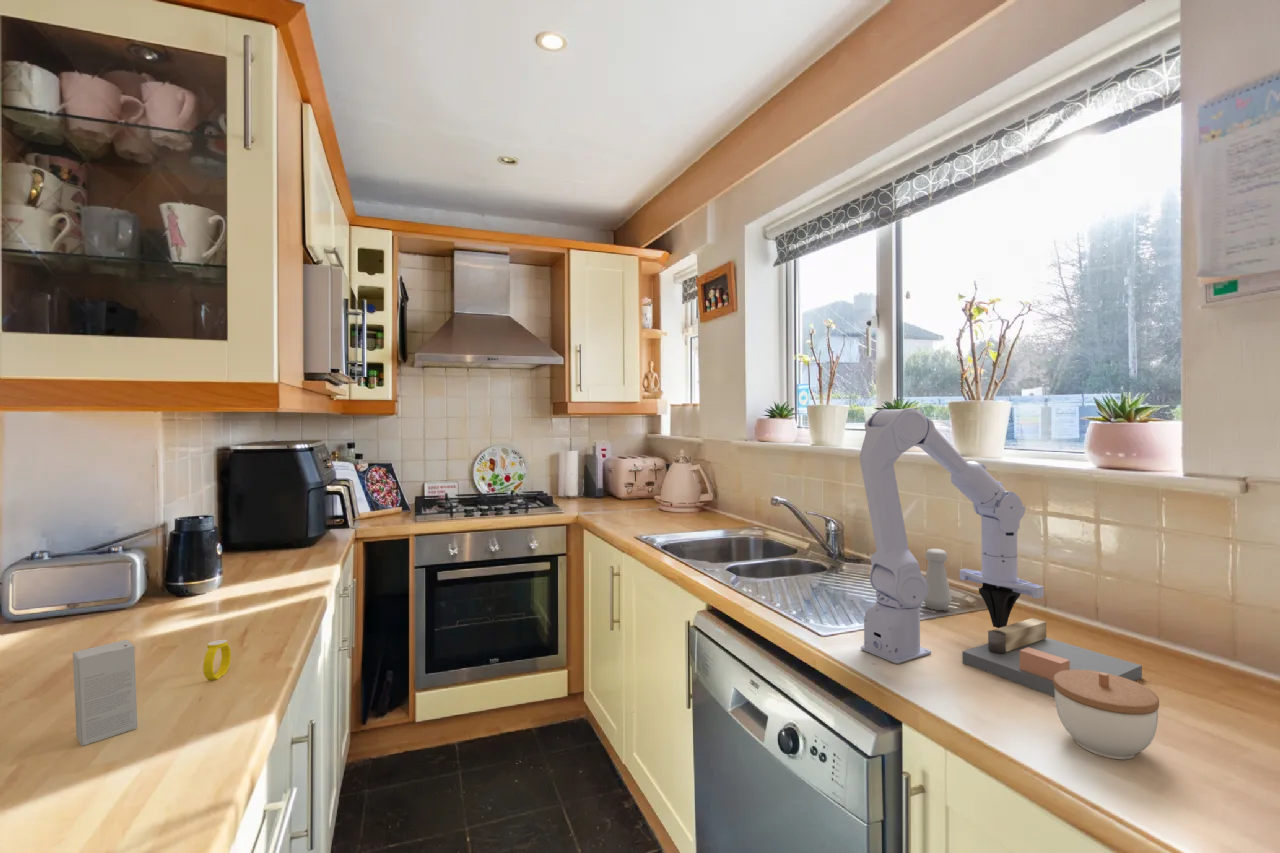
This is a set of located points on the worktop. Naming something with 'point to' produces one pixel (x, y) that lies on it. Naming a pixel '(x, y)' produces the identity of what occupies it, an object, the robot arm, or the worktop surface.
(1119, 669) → the stool seat
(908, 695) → the worktop surface
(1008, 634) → the stool leg
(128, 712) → the skincare box
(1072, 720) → the lidded jar
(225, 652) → the watch
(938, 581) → the salt shaker
